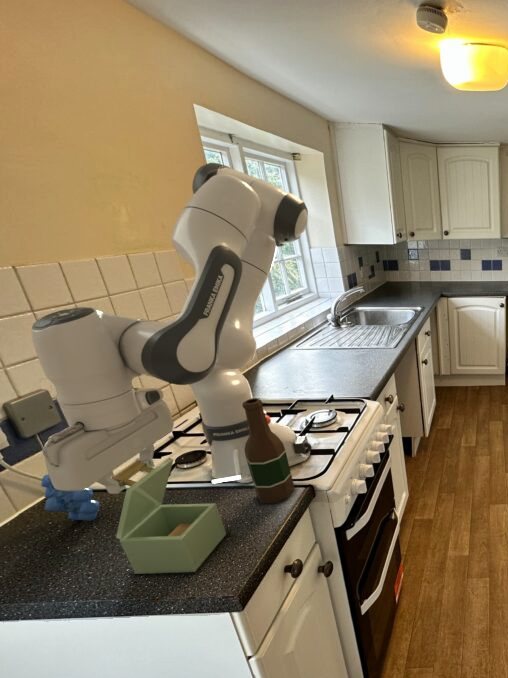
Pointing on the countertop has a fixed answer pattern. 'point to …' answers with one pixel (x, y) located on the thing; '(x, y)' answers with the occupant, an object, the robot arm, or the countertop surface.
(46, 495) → the grapes
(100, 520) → the countertop surface
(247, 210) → the robot arm
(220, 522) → the container
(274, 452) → the beer bottle
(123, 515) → the box lid
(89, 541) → the countertop surface
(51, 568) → the countertop surface
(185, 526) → the block
